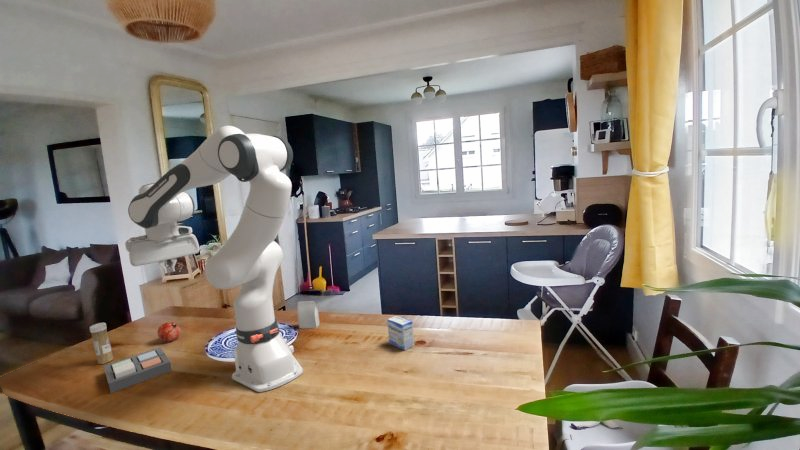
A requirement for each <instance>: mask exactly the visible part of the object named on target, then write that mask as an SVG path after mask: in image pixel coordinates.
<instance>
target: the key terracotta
mask: <svg viewBox="0 0 800 450" xmlns="http://www.w3.org/2000/svg"><path fill="white" fill-rule="evenodd" d="M160 363H162V361H161V360H160V358H159V357H157V358H154V359H151V360H148V361H145V362H142V363H141V366H142V370H143V369H146V368H149V367H152V366H154V365H157V364H160Z"/></svg>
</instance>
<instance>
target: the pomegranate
mask: <svg viewBox="0 0 800 450" xmlns="http://www.w3.org/2000/svg"><path fill="white" fill-rule="evenodd" d="M180 335H181V328H180V326H179V324H177V323H176V322H173V321H172V322H165V323H162V324H161V325H160V326H159V328H158V330H157V337H158V338H159V339H161V340H162V341H163V342H164V343H171V342H173V341H174V340H176V339H178V338H179V337H180Z"/></svg>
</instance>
